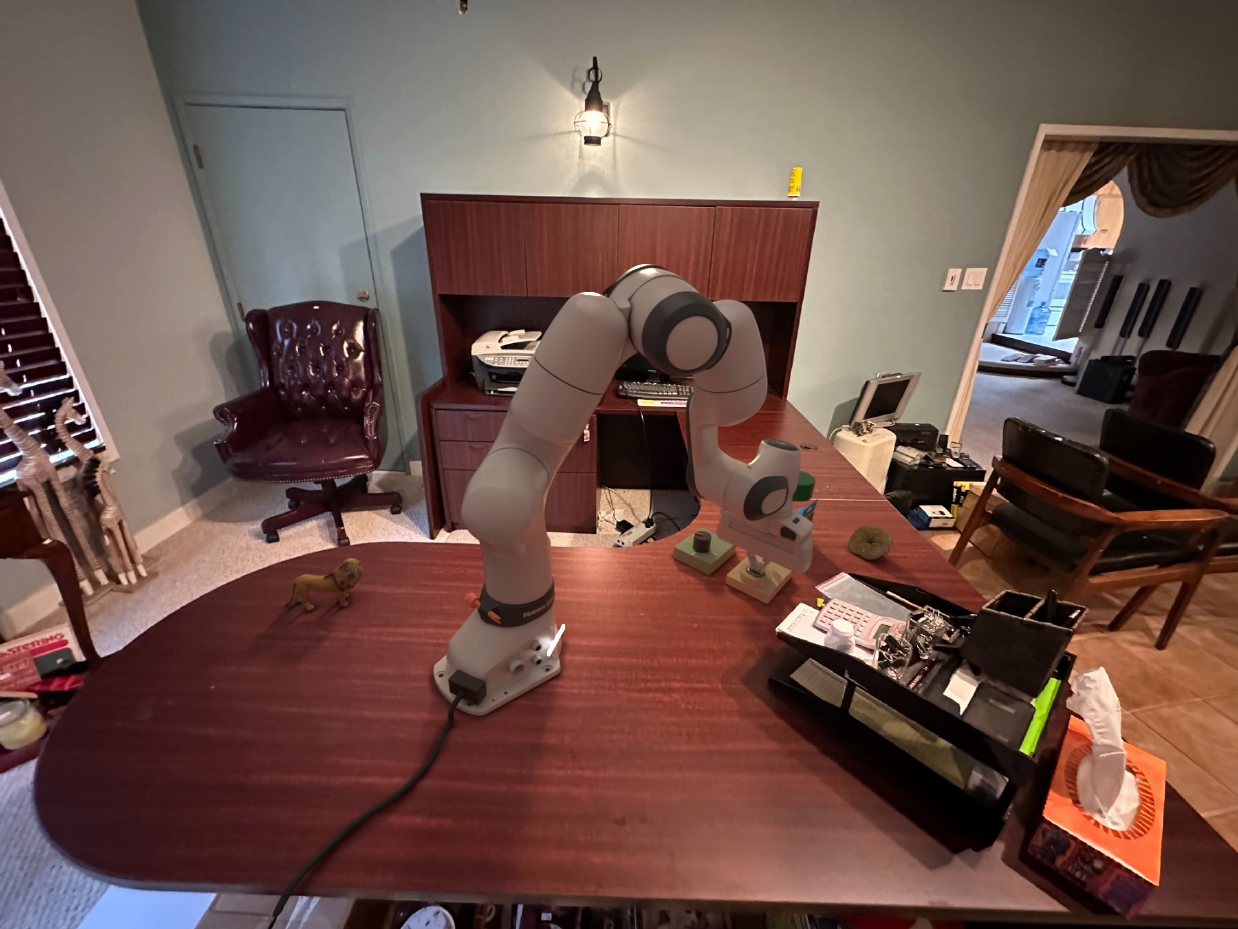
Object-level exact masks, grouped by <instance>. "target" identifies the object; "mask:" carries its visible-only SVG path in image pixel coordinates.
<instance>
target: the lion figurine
mask: <svg viewBox="0 0 1238 929" xmlns="http://www.w3.org/2000/svg"><path fill="white" fill-rule="evenodd" d="M363 575H364V568H363V566H362V563H361V561H360V560H358V559H357V558H354V557H349V558H346V559H344V560H343V562H341V564H340V565H339V566H337V567H336V568H335V569H333V570H331V571H330V572H329V573H328V574H324V575H315V574H311V573H310V574H309V573H305V574H301V575H300V576H297V577H296V578H294V580H293V582H292V584H291V593H290V598H289V601H288V602H286V604H284V606H283V608H288V607H290V606H291V605H292V603H293V601H294V597H295V600H296V602H298V603H302V605H303V607H305V609H306V610H307V611H308V612H309V611H310V612H311V611H313V610H314V609H315V606H314V605H313V604H310V603H308V602H309V601H308V598H309V594H310V591H313V592H316V593H319V594H332V593H334V594H335V595H336V597H337V599H338V602H339V604H340V605H341V607H343V608H346V607H347V606H349V604H350V603H349V601H346V599H347V598H349V596H350V594H349V593H346V592H347V591H349V590H353V589H354V588H355V586H356V584H358V582H359V581H360V580H361V579H362V578H363Z"/></svg>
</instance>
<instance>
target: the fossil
mask: <svg viewBox="0 0 1238 929" xmlns="http://www.w3.org/2000/svg"><path fill="white" fill-rule="evenodd" d="M893 544H894V539H893V538H892V535H891V533H890V532H889V531H888V530H887V529H885V528H883V527H880V526H871V525H867V524H866V525H861V526H858V527H857V528H855V529H854V531H853V532H852V534H851V536H850V538H849V540H848V541H847V548H848V550H849V551H850V552H851V553H852V554H855V555H857V556H860V557H861V558H863V559H866V560H877V559H880V558H882V557H884V556H886V555H887V554H888V553H890V552H891V549H892V546H893Z"/></svg>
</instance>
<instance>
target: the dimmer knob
mask: <svg viewBox="0 0 1238 929" xmlns="http://www.w3.org/2000/svg"><path fill="white" fill-rule="evenodd" d="M696 531H697V530H696ZM694 532H695V531H694ZM694 532H693V533H694ZM711 537H712V536H711V534H710V533H708V532H705V531H697V532H695V533H694V539H693V549H694V550H695V551H697V552H700V553H706V552H708V551H709V550H710V544H711Z"/></svg>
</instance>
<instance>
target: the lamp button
mask: <svg viewBox="0 0 1238 929" xmlns="http://www.w3.org/2000/svg"><path fill="white" fill-rule="evenodd" d="M749 567H750V566H749ZM749 567H748V569H747V573H748V574H750V575H752V576H754V577H763V576H764V573H765V572H764V573H763V574H760V573H758V572H756V571H753V570H751V569H749Z"/></svg>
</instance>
